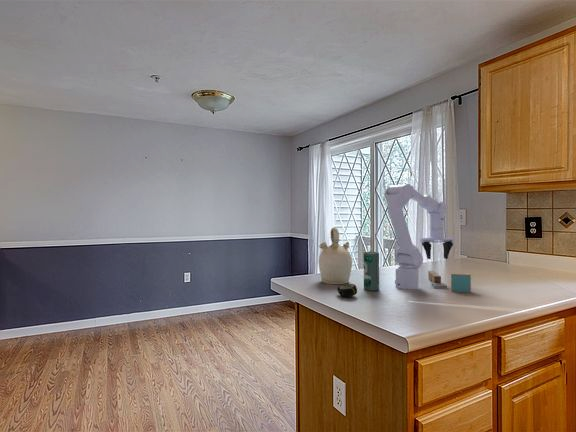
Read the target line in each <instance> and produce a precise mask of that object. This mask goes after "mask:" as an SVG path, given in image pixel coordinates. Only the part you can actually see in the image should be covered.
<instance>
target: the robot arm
mask: <svg viewBox="0 0 576 432" xmlns="http://www.w3.org/2000/svg"><path fill="white" fill-rule="evenodd" d="M384 197H385V200H386V203H387V205H386V207H387V212H388V215H389V218H390V221H391V224H392V225H391V226H392V228H393V231H394V235H395V237H396V242H397V244H398V247H397V248H396V249H395V250H394V251H395V252H394V253H395V260H396V262H397V264H398V266H396V267H395V280H394V285H395V289H406V290H408V289H409V290H420V285H419V284H420V283H419V268H421V266H422V265H423V262H424V257H423V255H422V253H421V252H420V249H419V248H418V247H417V246H416V245H415V244H414V243H413V241H412V237H411V234H410V231H409V227H408V225H407V220H406V217H405V213H404V211H403V209H404V207H406V206H407V204H408V203H409V202H410V200H412V201H415V202H417V203H418V205H419V207H420V208H422V209H425V210H426V211H427V214H428V215H429V216H430V217H429V221H430V222H429V224H430V225H429V229H430V230H429V231H430V232H429V233H430V234H429V237H421V238H420V239H419V240H420V241H419V242H420V243H421V245H422V247H423V249H424V252H425V255H426V258H427V259H428V260H431V257H432V256H431V255H432V253H431V251H432V243H442V246H443V248H442V249H443V258H444V259H445V260H446V259H447V260H448V258H449V253H450V252H451V249H452V247H453V246H454V243H455V238H454V237H445V218H446V214H447V211H448V207H447V204H446V203H445V202H444V201H439V200H438V199H437V198H433V197H432V196H431V195H430V194H422V193H420V191H418V190H416V189H415V187H414V185H411V184H409V183H405V184H396V185H395V184H394V185H393V184H390V185H388V186H387V187H386V190H385V191H384Z"/></svg>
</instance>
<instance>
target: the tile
mask: <svg viewBox="0 0 576 432" xmlns="http://www.w3.org/2000/svg"><path fill="white" fill-rule="evenodd" d="M449 277H450V278H449V280H450V281H449V286H450V287H449V288H450V289H449V290H450V292H457V293H471V292H472V290H471V289H472V284H471V283H472V279H471V278H472V275H471V273H467V272H466V273H465V272H464V273H462V272H449Z"/></svg>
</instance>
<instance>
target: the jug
mask: <svg viewBox="0 0 576 432" xmlns="http://www.w3.org/2000/svg"><path fill="white" fill-rule="evenodd" d="M330 241H331V245H329V246H328V245H327V242H326V241H323V242H321V243H320V245H319V246H318V247H319V248H320V249H321V251H320V254H319V256H318V268H319V272H320V277H321V282H322V283H324V284H327V285H346V284H349V282H350V277H351V273H352V268H353V257H352V254H351V253H350V251H349V248H350V242H349V241H346V242H345V243H343V245H341V244H339V242H340V233H339V229H338V228H337V227H335V226H334V227H332V228H331V229H330Z"/></svg>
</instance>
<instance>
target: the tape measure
mask: <svg viewBox="0 0 576 432" xmlns="http://www.w3.org/2000/svg"><path fill="white" fill-rule="evenodd" d="M337 292H338V294H339V295H340V297H343V298H350V297H353V296H355V295H357V294H358V289H357V285H356V284H354V283H346V284H342V285H340V286H337Z"/></svg>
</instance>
